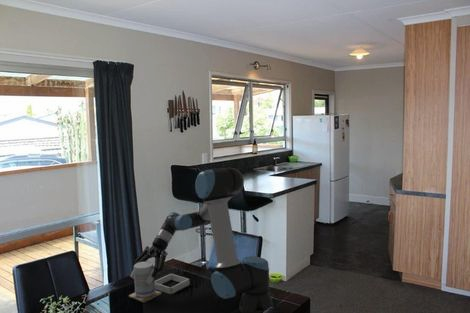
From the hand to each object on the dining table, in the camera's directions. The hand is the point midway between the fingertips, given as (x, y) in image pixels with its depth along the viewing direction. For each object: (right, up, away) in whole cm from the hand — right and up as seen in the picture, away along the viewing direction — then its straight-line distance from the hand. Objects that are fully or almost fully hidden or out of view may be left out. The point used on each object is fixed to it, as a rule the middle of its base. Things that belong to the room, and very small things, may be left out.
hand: (139, 280), depth 192 cm
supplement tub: (+2, -8, +3) cm, 8 cm away
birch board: (+2, -8, +3) cm, 9 cm away
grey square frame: (+13, -7, +13) cm, 20 cm away
